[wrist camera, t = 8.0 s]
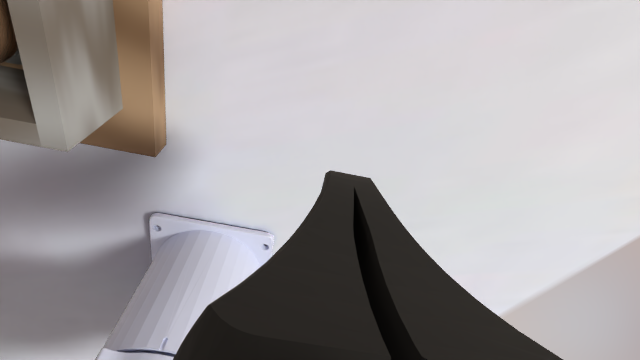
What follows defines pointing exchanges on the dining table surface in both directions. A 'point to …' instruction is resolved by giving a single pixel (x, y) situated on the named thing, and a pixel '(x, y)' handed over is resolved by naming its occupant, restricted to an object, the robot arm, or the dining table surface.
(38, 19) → the base
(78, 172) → the dining table surface
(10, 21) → the plunger
